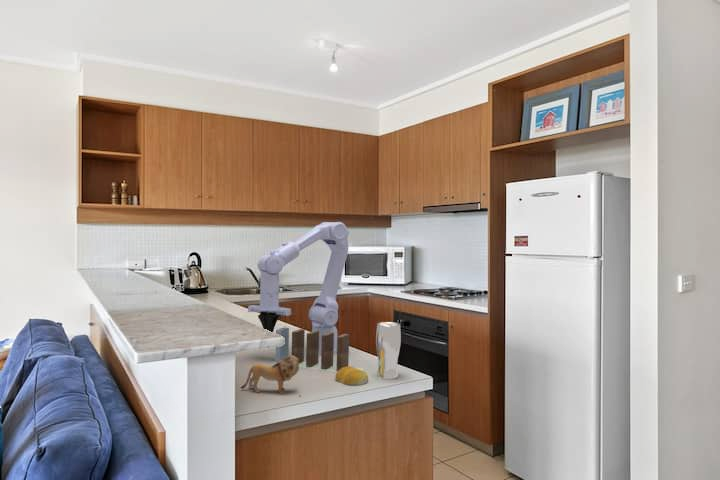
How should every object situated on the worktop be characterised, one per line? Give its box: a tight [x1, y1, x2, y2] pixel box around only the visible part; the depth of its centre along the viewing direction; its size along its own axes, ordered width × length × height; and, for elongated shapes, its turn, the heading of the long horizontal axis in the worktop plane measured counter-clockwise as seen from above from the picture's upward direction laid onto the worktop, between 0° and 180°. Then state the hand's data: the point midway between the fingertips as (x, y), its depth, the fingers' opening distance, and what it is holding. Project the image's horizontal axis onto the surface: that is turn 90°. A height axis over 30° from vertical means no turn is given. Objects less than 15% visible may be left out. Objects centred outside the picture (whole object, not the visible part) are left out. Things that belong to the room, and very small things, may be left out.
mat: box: [272, 360, 366, 373], centre depth 148 cm, size 7×28×1 cm, turn 68°
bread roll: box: [335, 365, 369, 386], centre depth 135 cm, size 8×9×4 cm
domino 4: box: [320, 332, 334, 370], centre depth 147 cm, size 2×5×10 cm, turn 158°
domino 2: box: [290, 328, 306, 364], centre depth 151 cm, size 2×5×10 cm, turn 158°
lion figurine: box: [240, 355, 300, 395], centre depth 125 cm, size 15×5×9 cm, turn 93°
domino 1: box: [274, 326, 290, 363], centre depth 153 cm, size 2×5×10 cm, turn 158°
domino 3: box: [305, 330, 320, 368], centre depth 149 cm, size 2×5×10 cm, turn 158°
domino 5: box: [336, 333, 350, 371], centre depth 145 cm, size 2×5×10 cm, turn 158°
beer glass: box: [375, 321, 402, 380], centre depth 140 cm, size 7×7×15 cm
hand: (268, 336), depth 155 cm, fingers closed
